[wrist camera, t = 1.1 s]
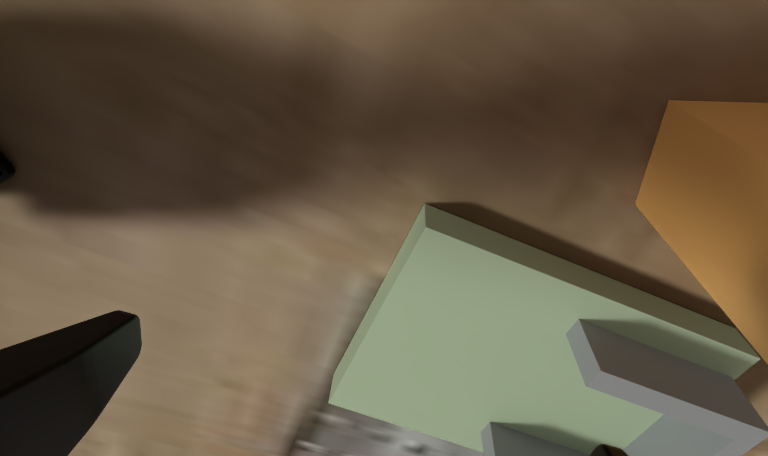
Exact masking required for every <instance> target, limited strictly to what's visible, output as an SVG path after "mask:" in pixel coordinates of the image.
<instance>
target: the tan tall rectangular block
mask: <svg viewBox="0 0 768 456" xmlns="http://www.w3.org/2000/svg"><path fill="white" fill-rule="evenodd" d="M635 205H636V206H637V208H638V209H639V210H640V211H641V212H642V214H643V215H644V216H645V217H646V218H647V220H648V221H649V222H650V223H651V224H652V226H653V227H654V228H655V229H656V230H657V232H658V233H659V234H660V235H661V236H662V238H663V239H664V240H665V241H666V242H667V244H668V245H669V246H670V247H671V249H672V250H673V251H674V252H675V253H676V255H677V256H678V257H679V258H680V259H681V261H682V262H683V263H684V264H685V265H686V267H687V268H688V269H689V270H690V271H691V273H692V274H693V275H694V276H695V277H696V279H697V280H698V281H699V282H700V283H701V285H702V286H703V287H704V288H705V289H706V291H707V292H708V293H709V294H710V295H711V297H712V298H713V299H714V300H715V302H716V303H717V304H718V305H719V306H720V308H721V309H722V310H723V311H724V312H725V314H726V315H727V316H728V317H729V318H730V320H731V321H732V322H733V323H734V324H735V326H736V327H737V328H738V329H739V330H740V332H741V333H742V334H743V335H744V336H745V338H746V339H747V340H748V341H749V342H750V344H751V345H752V346H753V347H754V349H755V350H756V351H757V352H758V353H759V355H760V356H761V357H762V358H763V359H764V361H765V362H766V363H767V364H768V103H755V102H719V101H683V100H669V101H668V104H667V107H666V110H665V113H664V116H663V119H662V122H661V125H660V128H659V132H658V135H657V138H656V141H655V144H654V147H653V150H652V153H651V156H650V159H649V162H648V165H647V168H646V171H645V174H644V178H643V181H642V184H641V187H640V190H639V193H638V196H637V199H636V202H635Z"/></svg>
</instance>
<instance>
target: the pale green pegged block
mask: <svg viewBox="0 0 768 456" xmlns="http://www.w3.org/2000/svg"><path fill="white" fill-rule="evenodd" d="M759 360H760V357H759V356H758V355H757V354H756V353H755V351H754V350H753V349H752V348H751V347H750V345H749V344H748V343H747V342H746V340H745V339H744V338H743V337H742V336H741V334H740V333H739V332H738V331H737V330H736V328H733V327H731V326H728V325H726V324H723V323H721V322H718V321H716V320H713V319H711V318H708V317H706V316H703V315H701V314H698V313H696V312H693V311H691V310H688V309H686V308H683V307H681V306H679V305H676V304H674V303H671V302H669V301H666V300H664V299H661V298H659V297H656V296H654V295H651V294H649V293H646V292H644V291H641V290H639V289H636V288H634V287H631V286H629V285H626V284H624V283H621V282H619V281H616V280H614V279H611V278H609V277H606V276H604V275H601V274H599V273H596V272H594V271H591V270H589V269H587V268H584V267H582V266H579V265H577V264H574V263H572V262H569V261H567V260H564V259H562V258H559V257H557V256H554V255H552V254H549V253H547V252H544V251H542V250H539V249H537V248H534V247H532V246H529V245H527V244H524V243H522V242H519V241H517V240H514V239H512V238H509V237H507V236H504V235H502V234H499V233H497V232H494V231H492V230H490V229H487V228H485V227H482V226H480V225H477V224H475V223H472V222H470V221H467V220H465V219H462V218H460V217H457V216H455V215H452V214H450V213H447V212H445V211H442V210H440V209H437V208H435V207H432V206H430V205H427V204H424V206H423V208H422V210H421V211H420V213H419V215H418V217H417V219H416V221H415V223H414V225H413V226H412V228H411V230H410V232H409V234H408V236H407V238H406V240H405V241H404V243H403V245H402V247H401V249H400V251H399V253H398V255H397V256H396V258H395V260H394V262H393V264H392V266H391V268H390V270H389V271H388V273H387V275H386V277H385V279H384V281H383V283H382V285H381V286H380V288H379V290H378V292H377V294H376V296H375V298H374V300H373V301H372V303H371V305H370V307H369V309H368V311H367V313H366V315H365V316H364V318H363V320H362V322H361V324H360V326H359V328H358V330H357V331H356V333H355V335H354V337H353V339H352V341H351V343H350V345H349V346H348V348H347V350H346V352H345V354H344V356H343V358H342V360H341V361H340V363H339V365H338V367H337V369H336V371H335V373H334V376H333V381H332V387H331V392H330V397H329V404H333V405H336V406H339V407H342V408H345V409H348V410H351V411H355V412H358V413H361V414H364V415H367V416H370V417H373V418H377V419H380V420H383V421H386V422H389V423H392V424H395V425H398V426H402V427H405V428H408V429H411V430H414V431H417V432H420V433H424V434H427V435H430V436H433V437H436V438H439V439H442V440H446V441H449V442H452V443H455V444H458V445H461V446H464V447H468V448H471V449H474V450H477V451H480V452H483V454H484V456H589V455H590V453H591V452H592V451H593V450H594V448H595V447H596V446H597V445H599V444H607V445H610V446H614V447H617V448H620V449H622V450H623V451H624V452H625V453H626V454H627V455H628V456H741V455H743V454H744V453H745V452H747V451H748V450H750V449H751V448H752V447H754V446H755V445H757V444H758V443H760V442H761V441H762V440H764V439H765V438H767V437H768V427H767V425H766V424H765V423H764V421H763V420H762V418H761V417H760V416H759V414H758V413H757V411H756V410H755V409H754V407H753V406H752V405H751V403H750V402H749V400H748V399H747V398H746V396H745V395H744V393H743V392H742V391H741V389H740V388H739V387H738V385H737V384H736V382H735V381H734V380H735V379H737V378H738V377H739V376H740V375H742V374H743V373H744V372H745V371H746V370H748V369H749V368H750V367H751V366H753V365H754V364H755V363H756V362H757V361H759Z"/></svg>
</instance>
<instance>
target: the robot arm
mask: <svg viewBox="0 0 768 456" xmlns="http://www.w3.org/2000/svg"><path fill="white" fill-rule="evenodd" d="M0 169H1V171H0V183H2V182H4V181H6V180H7V179H9V178H11V177H12V176H13V175H14V173H15V170H14V167H13V165H12V164H11V163H10V162H9V160H8V159H7V158H6V157H5V156H4V155H3V154H2V153H1V152H0ZM141 346H142V341H141V328H140V319H139V317H138V316H137V315H135V314H131V313H128V312H124V311H120V310H117V311H113V312H110V313H107V314H104V315H101V316H98V317H95V318H92V319H89V320H86V321H83V322H80V323H77V324H75V325H72V326H69V327H66V328H63V329H60V330H57V331H54V332H51V333H48V334H45V335H42V336H39V337H36V338H33V339H30V340H27V341H24V342H21V343H18V344H16V345H13V346H10V347H7V348H4V349H1V350H0V456H68V454H69V453H70V452H71V451H72V450H73V448H74V447H75V446H76V445H77V443H78V442H79V441H80V440H81V439H82V437H83V436H84V435H85V434H86V433H87V431H88V430H89V429H90V428H91V426H92V425H93V424H94V422H95V421H96V420H97V418H98V417H99V415H100V414H101V412H102V411H103V409H104V408H105V406H106V405H107V403H108V402H109V400H110V399H111V397H112V396H113V394H114V393H115V391H116V390H117V388H118V387H119V385H120V384H121V382H122V381H123V379H124V378H125V376H126V375H127V373H128V372H129V370H130V369H131V367H132V366H133V364H134V363H135V361H136V360H137V358H138V356H139V354H140V351H141ZM589 456H628V455H627V454H626V453H625V452H624V451H623V450H622V449H620V448H617V447H614V446H610V445H607V444H599V445H597V446H596V447H595V448H594V450H593V451H592V452H591V453H590V455H589Z"/></svg>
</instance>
